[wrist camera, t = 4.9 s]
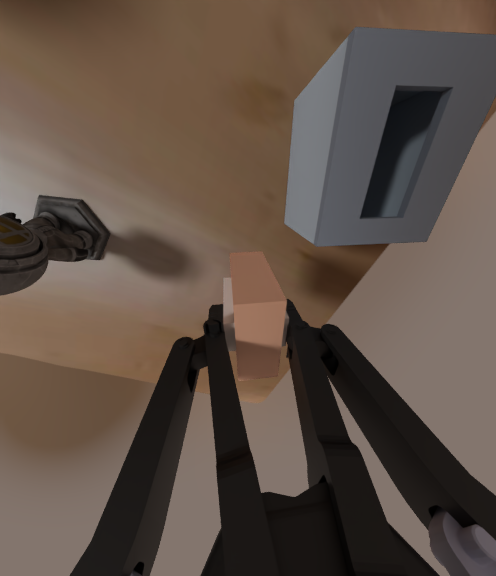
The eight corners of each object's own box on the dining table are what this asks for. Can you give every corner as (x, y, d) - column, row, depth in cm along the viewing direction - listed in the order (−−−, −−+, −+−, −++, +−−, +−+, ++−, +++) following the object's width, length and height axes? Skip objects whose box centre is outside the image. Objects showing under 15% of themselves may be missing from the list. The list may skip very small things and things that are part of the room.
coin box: (294, 100, 22) (355, 26, 11) (388, 102, 23) (524, 36, 12) (284, 223, 29) (316, 246, 18) (357, 221, 30) (426, 241, 19)
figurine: (116, 219, 26) (8, 255, 13) (95, 271, 30) (-8, 341, 17) (43, 177, 23) (-191, 170, 10) (29, 241, 27) (-160, 298, 14)
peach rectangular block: (229, 253, 17) (233, 304, 10) (261, 251, 17) (286, 300, 10) (233, 313, 20) (238, 380, 14) (260, 310, 21) (277, 376, 14)
